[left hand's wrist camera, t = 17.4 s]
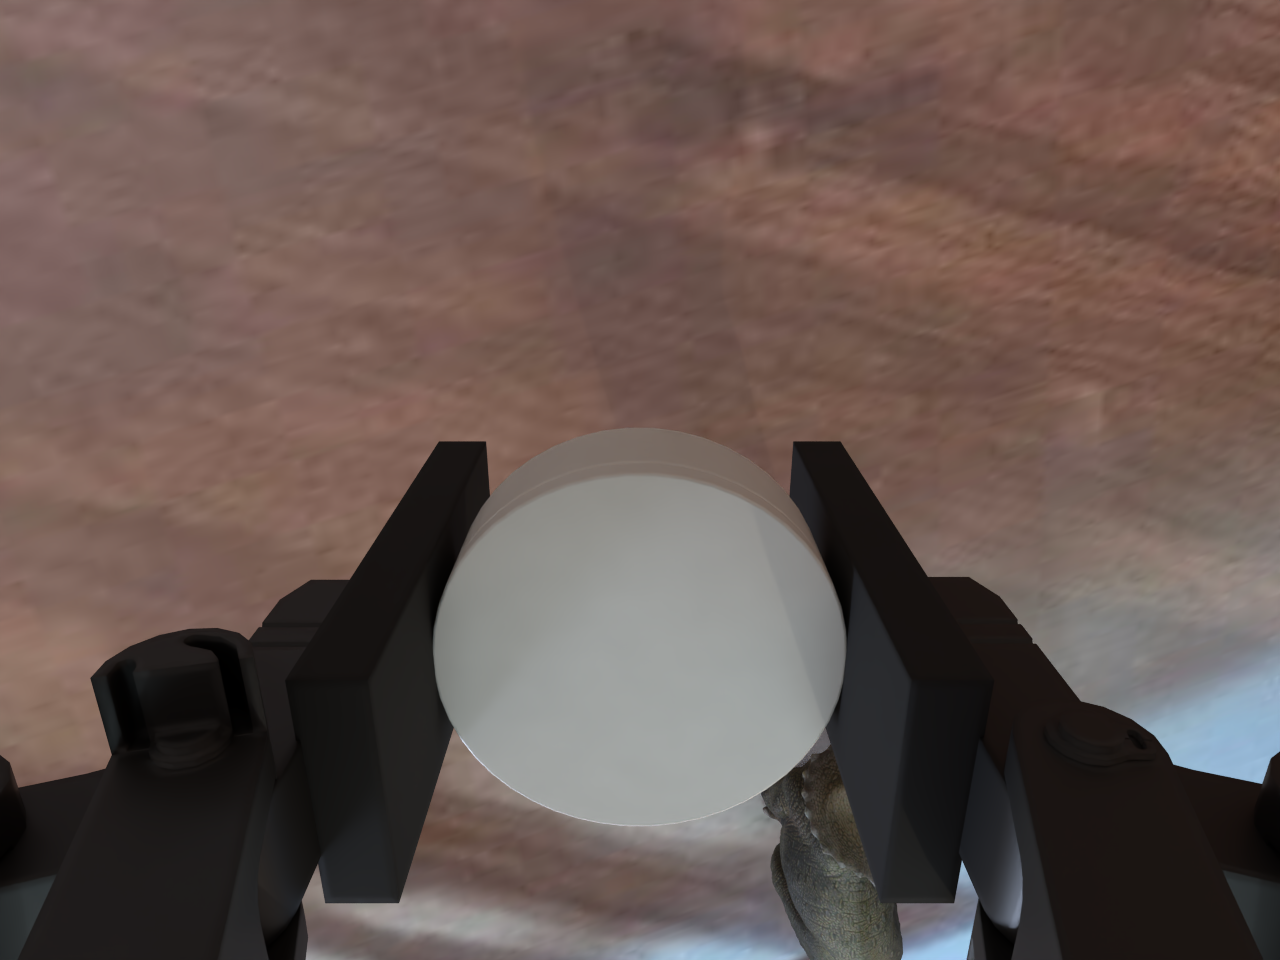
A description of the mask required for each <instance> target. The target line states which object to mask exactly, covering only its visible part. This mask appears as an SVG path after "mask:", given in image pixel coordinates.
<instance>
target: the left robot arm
mask: <svg viewBox="0 0 1280 960" xmlns="http://www.w3.org/2000/svg"><path fill="white" fill-rule="evenodd" d="M489 497H490V491H489V477H488V463H487V449H486V442H438V444H437V446H436V447H435V449H434V450H433V452H432V453H431V455H430V456H429V458H428V459H427V461H426V463H425V464H424V466H423V467H422V469H421V470H420V472H419V473H418V475H417V476H416V478H415V480H414V481H413V483H412V484H411V486H410V487H409V489H408V490H407V492H406V494H405V495H404V497H403V498H402V500H401V501H400V503H399V504H398V506H397V507H396V509H395V511H394V512H393V514H392V515H391V517H390V518H389V520H388V521H387V523H386V524H385V526H384V528H383V529H382V531H381V532H380V534H379V535H378V537H377V538H376V540H375V542H374V543H373V545H372V546H371V548H370V549H369V551H368V552H367V554H366V555H365V557H364V559H363V560H362V562H361V563H360V565H359V566H358V568H357V569H356V571H355V572H354V574H353V576H352V577H351V579H350V580H310V581H308V582H307V583H305V584H304V585H302V586H301V587H299V588H298V589H296V590H294V591H293V592H291V593H290V594H288V595H287V596H285V597H283V598H282V599H280V600H279V602H278V603H277V604H276V606H275V607H274V608H273V609H272V611H271V612H270V613H269V615H268V616H267V617H266V619H265V620H264V621H263V623H262V627H259V628H258V629H257V630H256V632H255V633H254V634H253V636H252V637H251V638H250V639H249V640H247V639H246V638H245V637H243V636H242V635H241V634H240V633H237V632H233V631H228V630H224V629H219V628H203V629H187V630H182V631H177V632H172V633H167V634H163V635H158V636H156V637H153V638H151V639H148V640H145V641H143V642H140V643H138V644H135V645H132V646H130V647H128V648H127V649H125V650H123V651H122V652H120V653H118V654H117V655H115V656H114V657H112V658H110V659H109V660H107V661H106V662H105V663H104V664H103V665H102V666H101V667H100V668H99V669H98V670H97V671H96V673H95V674H94V675H93V676H92V677H91V678H90V679H91V682H92V686H93V689H94V693H95V696H96V700H97V703H98V707H99V711H100V714H101V718H102V721H103V725H104V728H105V732H106V736H107V739H108V743H109V746H110V750H111V753H112V756H111V758H110V760H109V763H108V765H107V767H106V769H103V770H99V771H95V772H91V773H88V774H83V775H78V776H73V777H69V778H64V779H59V780H54V781H49V782H44V783H39V784H35V785H30V786H25V787H20V788H18V786H17V783H16V780H15V777H14V774H13V771H12V768H11V765H10V762H8V761H7V760H6V759H4V758H3V757H2V756H1V755H0V960H305V959H306V950H307V942H308V934H307V927H306V920H305V914H304V909H303V904H302V898H303V896H304V894H305V891H306V889H307V887H308V885H309V882H310V880H311V878H312V875H313V873H314V871H315V869H316V866H317V864H318V865H319V871H320V876H321V882H322V887H323V893H324V898H325V903H399V901H400V898H401V895H402V892H403V888H404V885H405V882H406V879H407V876H408V872H409V869H410V866H411V863H412V860H413V856H414V853H415V850H416V847H417V844H418V840H419V837H420V834H421V831H422V827H423V824H424V821H425V818H426V815H427V811H428V808H429V805H430V802H431V799H432V795H433V792H434V789H435V786H436V783H437V779H438V776H439V773H440V770H441V766H442V763H443V760H444V757H445V754H446V750H447V747H448V744H449V741H450V738H451V734H452V731H453V728H454V727H453V725H452V723H451V722H450V720H449V718H448V715H447V713H446V711H445V708H444V706H443V703H442V701H441V699H440V695H439V692H438V688H437V683H436V676H435V667H434V657H433V627H434V623H435V618H436V613H437V609H438V605H439V602H440V599H441V597H442V594H443V591H444V589H445V586H446V584H447V581H448V579H449V576H450V574H451V572H452V570H453V567H454V565H455V562H456V560H457V558H458V555H459V553H460V551H461V548H462V546H463V543H464V541H465V539H466V536H467V534H468V532H469V529H470V527H471V525H472V523H473V522H474V520H475V518H476V516H477V515H478V513H479V511H480V509H481V507H482V506H483V505H484V504H485V502H486V501H487V500H488V498H489ZM790 498H791V499H792V501H793V502H794V503H795V505H796V506H797V507H798V509H799V510H800V512H801V514H802V516H803V518H804V519H805V521H806V523H807V525H808V527H809V529H810V531H811V533H812V536H813V538H814V540H815V543H816V545H817V547H818V550H819V552H820V554H821V557H822V559H823V561H824V564H825V566H826V568H827V571H828V573H829V575H830V578H831V580H832V582H833V585H834V587H835V590H836V593H837V595H838V598H839V601H840V604H841V606H842V611H843V616H844V621H845V626H846V633H847V649H846V660H845V669H844V679H843V685H842V689H841V692H840V696H839V700H838V702H837V704H836V707H835V709H834V711H833V714H832V716H831V718H830V721H829V722H828V724H827V726H826V730H827V733H828V736H829V739H830V743H831V746H832V749H833V752H834V755H835V759H836V762H837V765H838V768H839V771H840V775H841V778H842V781H843V784H844V788H845V791H846V794H847V797H848V800H849V804H850V807H851V810H852V813H853V816H854V820H855V823H856V826H857V829H858V833H859V836H860V839H861V842H862V845H863V849H864V852H865V855H866V858H867V861H868V865H869V868H870V871H871V874H872V877H873V881H874V884H875V887H876V890H877V894H878V897H879V900H880V903H954V901H955V895H956V890H957V884H958V879H959V873H960V868H961V862H962V861H963V863H964V866H965V868H966V870H967V872H968V875H969V877H970V879H971V881H972V884H973V886H974V888H975V890H976V893H977V895H978V897H979V899H978V904H977V909H976V914H975V920H974V925H973V930H972V935H971V940H970V945H969V950H968V956H967V960H1280V752H1279V753H1277V754H1276V755H1275V756H1274V757H1272V758H1271V760H1270V763H1269V766H1268V769H1267V772H1266V775H1265V778H1264V781H1263V784H1259V783H1254V782H1250V781H1245V780H1240V779H1235V778H1230V777H1225V776H1220V775H1215V774H1211V773H1206V772H1201V771H1196V770H1192V769H1188V768H1184V767H1180V766H1177V765H1173V763H1172V761H1171V759H1170V757H1169V754H1168V753H1167V752H1166V750H1165V749H1164V748H1163V746H1162V745H1161V744H1160V743H1159V741H1158V740H1157V739H1156V737H1155V736H1154V735H1153V734H1151V733H1150V732H1148V731H1147V730H1146V729H1144V728H1143V727H1141V726H1140V725H1139V724H1137V723H1136V722H1135V721H1133V720H1132V719H1130V718H1127V717H1125V716H1123V715H1121V714H1118V713H1116V712H1114V711H1112V710H1109V709H1107V708H1105V707H1102V706H1098V705H1094V704H1089V703H1085V702H1081V701H1080V700H1079V698H1078V697H1077V696H1076V695H1075V693H1074V692H1073V691H1072V689H1071V688H1070V687H1069V686H1068V684H1067V683H1066V682H1065V680H1064V679H1063V678H1062V677H1061V675H1060V674H1059V673H1058V671H1057V670H1056V669H1055V667H1054V666H1053V665H1052V664H1051V662H1050V661H1049V660H1048V658H1047V657H1046V656H1045V655H1044V653H1043V652H1042V651H1041V649H1040V648H1039V647H1038V645H1037V644H1033V643H1032V638H1031V636H1030V635H1029V634H1028V633H1027V631H1026V630H1025V629H1024V627H1023V626H1022V625H1021V624H1018V622H1017V621H1018V620H1017V618H1016V617H1015V616H1014V614H1013V613H1012V612H1011V611H1010V609H1009V608H1008V607H1007V605H1006V604H1005V603H1004V601H1003V600H1002V599H1001V598H1000V597H999V596H998V595H996V594H995V593H993V592H992V591H990V590H988V589H987V588H985V587H984V586H982V585H981V584H979V583H977V582H976V581H974V580H973V579H971V578H970V577H927V575H926V573H925V572H924V570H923V569H922V567H921V566H920V564H919V563H918V561H917V560H916V558H915V556H914V555H913V553H912V552H911V550H910V549H909V547H908V546H907V544H906V542H905V541H904V539H903V538H902V536H901V535H900V533H899V532H898V530H897V529H896V527H895V525H894V524H893V522H892V521H891V519H890V518H889V516H888V515H887V513H886V511H885V510H884V508H883V507H882V505H881V504H880V502H879V501H878V499H877V498H876V496H875V494H874V493H873V491H872V490H871V488H870V487H869V485H868V484H867V482H866V480H865V479H864V477H863V476H862V474H861V473H860V471H859V470H858V468H857V467H856V465H855V463H854V462H853V460H852V459H851V457H850V456H849V454H848V453H847V451H846V450H845V448H844V446H843V445H842V443H841V442H793V455H792V469H791V483H790Z"/></svg>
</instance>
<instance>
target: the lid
mask: <svg viewBox="0 0 1280 960" xmlns="http://www.w3.org/2000/svg"><path fill="white" fill-rule="evenodd" d="M846 649H847V633H846V626H845V621H844V616H843V611H842V606H841V604H840V601H839V598H838V595H837V593H836V590H835V587H834V585H833V582H832V580H831V578H830V575H829V573H828V571H827V568H826V566H825V564H824V561H823V559H822V557H821V554H820V552H819V550H818V547H817V545H816V543H815V540H814V538H813V536H812V533H811V531H810V529H809V527H808V525H807V523H806V521H805V519H804V518H803V516H802V514H801V512H800V510H799V509H798V507H797V506H796V505H795V503H794V502H793V501H792V499H791V498H790V497H789V495H788V494H787V493H786V491H785V490H784V489H783V488H782V487H781V486H780V485H779V484H778V483H777V482H776V481H775V480H774V479H773V478H772V477H771V476H770V475H769V474H768V473H766V472H765V471H764V470H762V469H761V468H760V467H758V466H757V465H756V464H754V463H753V462H752V461H751V460H749V459H748V458H746V457H744V456H742V455H740V454H739V453H737V452H735V451H733V450H732V449H730V448H728V447H726V446H723V445H721V444H718V443H716V442H713V441H711V440H708V439H706V438H703V437H699V436H695V435H692V434H688V433H684V432H680V431H673V430H666V429H658V428H622V429H614V430H605V431H600V432H596V433H592V434H588V435H584V436H580V437H576V438H574V439H571V440H569V441H566V442H563V443H561V444H558V445H556V446H553V447H552V448H550V449H548V450H546V451H544V452H542V453H541V454H539V455H537V456H535V457H533V458H532V459H530V460H529V461H528V462H526V463H525V464H524V465H522V466H521V467H519V468H518V469H517V470H515V471H514V472H513V473H512V474H511V475H510V476H509V477H508V478H507V479H505V480H504V481H503V482H502V483H501V484H500V485H499V486H498V487H497V488H496V489H495V491H494V492H493V493H492V494H491V496H490V497H489V498H488V500H487V501H486V502H485V504H484V505H483V506H482V507H481V509H480V511H479V513H478V515H477V516H476V518H475V520H474V522H473V523H472V525H471V527H470V529H469V532H468V534H467V536H466V539H465V541H464V543H463V546H462V548H461V551H460V553H459V555H458V558H457V560H456V562H455V565H454V567H453V570H452V572H451V574H450V576H449V579H448V581H447V584H446V586H445V589H444V591H443V594H442V597H441V599H440V602H439V605H438V609H437V613H436V618H435V623H434V627H433V657H434V667H435V676H436V683H437V688H438V692H439V695H440V699H441V701H442V703H443V706H444V708H445V711H446V713H447V715H448V718H449V720H450V722H451V723H452V725H453V727H454V728H455V730H456V732H457V734H458V735H459V737H460V739H461V740H462V741H463V743H464V744H465V745H466V746H467V748H468V749H469V750H470V751H471V753H472V754H473V755H474V756H475V758H476V759H477V760H478V761H479V762H480V763H481V764H483V765H484V766H485V767H486V768H487V769H488V770H489V771H490V772H491V773H492V774H493V775H494V776H496V777H497V778H498V779H499V780H501V781H502V782H503V783H505V784H506V785H507V786H509V787H510V788H511V789H513V790H515V791H516V792H518V793H520V794H521V795H523V796H525V797H527V798H528V799H530V800H532V801H534V802H536V803H538V804H540V805H543V806H545V807H547V808H549V809H552V810H554V811H557V812H560V813H563V814H566V815H569V816H572V817H575V818H579V819H583V820H588V821H593V822H598V823H603V824H612V825H622V826H657V825H667V824H676V823H681V822H686V821H691V820H696V819H700V818H704V817H707V816H710V815H713V814H716V813H719V812H723V811H725V810H727V809H730V808H732V807H734V806H736V805H739V804H741V803H743V802H746V801H747V800H749V799H751V798H752V797H754V796H756V795H758V794H759V793H761V792H763V791H765V790H766V789H768V788H769V787H770V786H772V785H773V784H774V783H776V782H777V781H778V780H780V779H781V778H782V777H784V776H785V775H786V774H787V773H788V772H789V771H790V770H791V769H792V768H794V767H795V766H796V765H797V764H798V763H799V762H800V761H801V760H802V759H803V758H804V757H805V755H806V754H807V753H808V752H809V750H810V749H811V748H812V747H813V745H814V744H815V743H816V742H817V740H818V739H819V737H820V735H821V734H822V732H823V731H824V729H825V727H826V726H827V724H828V722H829V721H830V718H831V716H832V714H833V711H834V709H835V707H836V704H837V702H838V700H839V696H840V692H841V689H842V685H843V679H844V669H845V660H846Z"/></svg>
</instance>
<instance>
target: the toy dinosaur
mask: <svg viewBox="0 0 1280 960" xmlns="http://www.w3.org/2000/svg"><path fill="white" fill-rule="evenodd" d="M761 795H762V797H763V799H764V801H765V803H766V805H767V806H766V807H764V808H763V811H764V813H765V814H767V815H768V816H769V817H771V818H773V819H777V820H778V821H779V822H780V823H781V824H782V828H781V835H780V843H779V844H778V845H777V846H776V848H775V849H774V852H773V855H772V858H771V866H770V867H771V871H772V882H773V885H774V887H775V889H776V891H777V893H778V894H779V896H780V898H781V900H782V902H783V904H784V907H785V911H786V913H787V915H788V918H789V920H790V922H791V926H792V927H793V929H794V931H795V933H796V936H797V938H798V940H799V942H800V945H801V946H802V947H803V949H804V950H805V952H806V954H807V956H808V957H809V959H810V960H901V958H902V955H903V944H902V936H901V932H900V923H899V919H898V913H897V904H896V903H880V900H879V897H878V894H877V890H876V887H875V884H874V881H873V877H872V874H871V871H870V868H869V865H868V861H867V858H866V855H865V852H864V849H863V845H862V842H861V839H860V836H859V833H858V829H857V826H856V823H855V820H854V816H853V813H852V810H851V807H850V804H849V800H848V797H847V794H846V791H845V788H844V784H843V781H842V778H841V775H840V771H839V768H838V765H837V762H836V759H835V755H834V752H833V749H832V746H831V745H830V746H829V748H828V749H827V750H825V751H824V752H823V753H820V754H812V755H811V759H810V760H809V761H808V762H807V763H805V765H804V766H803V767H796V768H793V769H792V770H791V771H790V772H789V773H788V774H787V775H785V776H784V777H782V778H781V779H780V780H778V781H777V782H776V783H774V784H773V785H772V786H770V787H769V788H768V789H766V790H765V791H763V792H761Z"/></svg>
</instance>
